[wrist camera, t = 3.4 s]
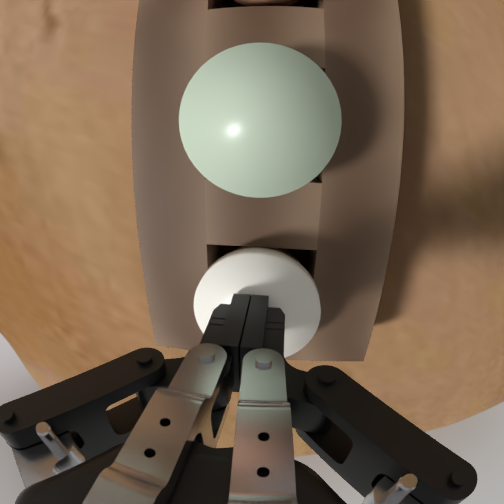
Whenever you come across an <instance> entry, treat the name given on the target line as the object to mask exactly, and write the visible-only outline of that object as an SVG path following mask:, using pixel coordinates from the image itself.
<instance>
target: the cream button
mask: <svg viewBox="0 0 504 504" xmlns="http://www.w3.org/2000/svg"><path fill="white" fill-rule="evenodd" d="M234 293H236V294H250V295H251V296H252V295H266V296H269V306H268V307H274V308H281V310H282V311H283V313H284V314H285V335H284V358H286V357H288V356H290V355H292V354H294V353H296V352H298V351H299V350H301V349H302V348H303V347H304V346H305V345H306V344H307V343H308V342H309V341H310V340H311V339H312V337H313V336H314V334H315V332H316V331H317V328H318V326H319V322H320V316H321V307H320V299H319V293H318V289H317V286H316V284H315V282H314V280H313V278H312V276H311V275H310V273H309V272H308V271H307V270H306V269H305V268H304V267H303V266H302V265H301V264H300V262H299V261H298V259H297V258H296V257H295V255H294V254H293V253H292V252H290V251H289V250H288V249H286V248H268V247H250V246H240V247H238V248H237V249H236V250H234V251H233V252H230V253H228V254H226V255H224V256H222V257H221V258H219V259H218V260H217V261H215V262H214V263H213V264H212V265H211V266H210V267H209V268H208V270H207V271H206V273H205V274H204V276H203V277H202V279H201V281H200V283H199V285H198V287H197V289H196V292H195V296H194V313H195V318H196V321H197V323H198V325H199V327H200V329H201V331H202V332H203V334H204V332H205V329H206V327H207V325H208V322H209V319H210V317H211V315H212V312H213V310H214V309H215V308H216V307H217V306H219V305H220V304H230V303H231V300H232V297H233V294H234Z"/></svg>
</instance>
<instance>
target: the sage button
mask: <svg viewBox="0 0 504 504" xmlns="http://www.w3.org/2000/svg"><path fill="white" fill-rule="evenodd" d="M341 124H342V118H341V108H340V103H339V99H338V96H337V93H336V91H335V89H334V87H333V85H332V83H331V81H330V80H329V78H328V77H327V75H326V74H325V73H324V71H323V70H322V69H321V68H320V67H319V66H318V65H317V64H316V63H315V62H313V61H312V60H311V59H310V58H308V57H307V56H305V55H303V54H302V53H300V52H298V51H296V50H294V49H292V48H289V47H286V46H282V45H278V44H273V43H260V42H259V43H247V44H242V45H238V46H235V47H232V48H229V49H226V50H224V51H222V52H220V53H218V54H217V55H215V56H214V57H212V58H211V59H209V60H208V61H207V62H206V63H205V64H204V65H202V66H201V67H200V69H199V70H198V71H197V72H196V73H195V74H194V76H193V77H192V79H191V80H190V82H189V83H188V85H187V87H186V89H185V92H184V94H183V97H182V100H181V105H180V110H179V131H180V136H181V140H182V143H183V146H184V149H185V151H186V153H187V155H188V157H189V159H190V160H191V162H192V163H193V165H194V166H195V167H196V168H197V170H198V171H199V172H200V173H201V174H202V175H203V176H204V177H205V178H207V179H208V180H209V181H210V182H212V183H213V184H215V185H216V186H218V187H220V188H222V189H224V190H226V191H228V192H231V193H234V194H237V195H241V196H245V197H254V198H268V197H275V196H280V195H283V194H287V193H290V192H292V191H295V190H297V189H299V188H301V187H302V186H304V185H306V184H307V183H309V182H310V181H311V180H313V179H314V178H315V177H316V176H317V175H318V174H319V173H320V172H321V171H322V170H323V169H324V168H325V166H326V165H327V164H328V163H329V161H330V159H331V158H332V156H333V154H334V152H335V150H336V147H337V145H338V142H339V137H340V133H341Z"/></svg>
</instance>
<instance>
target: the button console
mask: <svg viewBox="0 0 504 504" xmlns="http://www.w3.org/2000/svg"><path fill="white" fill-rule="evenodd" d="M259 42H260V43H273V44H278V45H282V46H286V47H289V48H292V49H294V50H296V51H298V52H300V53H302V54H303V55H305V56H307V57H308V58H310V59H311V60H312V61H313V62H315V63H316V64H317V65H318V66H319V67H320V68H321V69H322V70H323V71H324V73H325V74H326V75H327V77H328V78H329V80H330V81H331V83H332V85H333V87H334V89H335V91H336V93H337V96H338V99H339V103H340V108H341V118H342V124H341V133H340V137H339V142H338V145H337V147H336V150H335V152H334V154H333V156H332V158H331V159H330V161H329V163H328V164H327V165H326V166H325V168H324V169H323V170H322V171H321V172H320V173H319V174H318V175H317V176H316V177H315V178H314V179H313V180H311V181H310V182H309V183H307V184H306V185H304V186H302V187H301V188H299V189H297V190H295V191H292V192H290V193H287V194H283V195H280V196H275V197H268V198H254V197H245V196H241V195H237V194H234V193H231V192H228V191H226V190H224V189H222V188H220V187H218V186H216V185H215V184H213V183H212V182H210V181H209V180H208V179H207V178H205V177H204V176H203V175H202V174H201V173H200V172H199V171H198V170H197V168H196V167H195V166H194V165H193V163H192V162H191V160H190V159H189V157H188V155H187V153H186V151H185V149H184V146H183V143H182V140H181V136H180V131H179V110H180V105H181V100H182V97H183V94H184V92H185V89H186V87H187V85H188V83H189V82H190V80H191V79H192V77H193V76H194V74H195V73H196V72H197V71H198V70H199V69H200V67H201V66H202V65H204V64H205V63H206V62H207V61H208V60H209V59H211V58H212V57H214V56H215V55H217V54H218V53H220V52H222V51H224V50H226V49H229V48H232V47H235V46H238V45H242V44H247V43H259ZM403 133H404V63H403V46H402V34H401V23H400V14H399V7H398V0H317V8H309V7H291V6H249V7H231V8H223V0H139V5H138V14H137V22H136V32H135V44H134V58H133V77H132V158H133V178H134V193H135V205H136V216H137V227H138V236H139V244H140V252H141V260H142V267H143V274H144V281H145V287H146V293H147V299H148V305H149V311H150V316H151V321H152V327H153V332H154V336H155V341H156V345H159V346H166V347H172V348H179V349H185V350H190V349H191V348H192V347H194V346H196V345H199V344H200V342H201V339H202V337H203V332H202V331H201V329H200V327H199V325H198V323H197V321H196V318H195V313H194V296H195V292H196V289H197V287H198V285H199V283H200V281H201V279H202V277H203V276H204V274H205V273H206V271H207V270H208V268H209V267H210V266H211V265H212V264H213V263H214V262H215V261H217V260H218V259H219V258H221V245H231V246H250V247H268V248H287V249H305V250H310V259H309V270H308V272H309V273H310V275H311V276H312V278H313V280H314V282H315V284H316V286H317V289H318V293H319V299H320V307H321V316H320V322H319V326H318V328H317V331H316V332H315V334H314V336H313V337H312V339H311V340H310V341H309V342H308V343H307V344H306V345H305V346H304V347H303V348H302V349H301V350H299V351H298V352H296V353H294V354H292V355H290V356H288V357H286V358H285V359H288V360H310V361H364V357H365V354H366V351H367V347H368V344H369V341H370V337H371V333H372V330H373V326H374V322H375V318H376V314H377V310H378V306H379V302H380V298H381V294H382V289H383V285H384V280H385V275H386V271H387V265H388V260H389V255H390V249H391V244H392V238H393V232H394V225H395V218H396V211H397V203H398V195H399V186H400V176H401V165H402V151H403Z"/></svg>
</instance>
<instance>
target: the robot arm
mask: <svg viewBox="0 0 504 504" xmlns="http://www.w3.org/2000/svg"><path fill="white" fill-rule="evenodd" d="M268 306H269V296H266V295H252V296H251V295H250V294H236V293H234V294H233V297H232V300H231V303H230V304H220V305H219V306H217V307H216V308H215V309H214V310H213V312H212V315H211V317H210V319H209V322H208V325H207V327H206V329H205V332H204V334H203V337H202V339H201V342H200V344H199V345H196V346H194V347H192V348H191V349H190V350H189V351H188V353H187V355H186V356H185V357H182V358H175V359H164V356H163V354H162V353H161V352H160V351H158V350H156V349H153V348H141V349H137V350H135V351H133V352H130V353H128V354H126V355H124V356H121V357H119V358H117V359H114V360H112V361H110V362H107V363H105V364H103V365H100V366H98V367H96V368H93V369H91V370H89V371H86V372H84V373H81V374H79V375H77V376H74V377H72V378H69V379H67V380H64V381H62V382H59V383H57V384H54V385H52V386H49V387H47V388H44V389H42V390H39V391H37V392H34V393H32V394H29V395H26V396H24V397H21V398H19V399H16V400H13V401H11V402H8V403H6V404H3V405H2V406H0V434H1V436H2V437H3V438H4V439H5V440H6V442H7V444H8V445H9V446H10V447H11V448H12V450H13V454H14V457H15V460H16V463H17V466H18V469H19V472H20V475H21V478H22V481H23V483H24V486H25V489H24V490H23V491H22V492H21V493H20V495H19V496H18V498H17V500H16V502H15V504H346V503H345V502H344V501H343V500H342V499H341V498H340V497H339V496H338V495H337V494H336V493H335V492H334V491H333V489H332V488H330V486H328V484H327V483H326V482H325V481H324V480H323V479H322V478H321V477H320V476H319V475H318V474H317V473H316V472H315V471H313V470H312V469H311V468H309V467H308V466H306V465H305V464H303V463H301V462H299V461H296V460H294V449H293V434H292V427H293V428H295V429H296V432H297V434H298V435H299V436H300V437H301V438H302V439H303V440H304V441H305V442H306V443H307V444H308V445H309V446H310V447H311V448H312V449H313V450H314V451H315V452H316V453H317V454H318V455H319V456H320V457H321V458H322V459H323V460H324V461H325V462H326V463H327V464H328V465H329V466H330V467H331V468H332V469H334V470H335V471H336V472H337V473H338V474H339V475H340V476H341V477H342V478H343V479H344V480H345V481H347V482H348V483H349V484H350V485H351V486H352V487H353V488H354V489H356V490H357V491H358V492H359V493H360V494H361V495H362V496H363V497H365V498H364V500H363V503H362V504H459V503H460V502H461V501H462V500H464V499H465V498H466V497H468V496H469V495H470V494H471V493H472V492H473V491H474V489H475V487H476V484H477V473H476V471H475V469H474V468H473V466H472V465H471V464H470V463H468V462H467V461H465V460H464V459H462V458H461V457H459V456H458V455H456V454H455V453H453V452H452V451H451V450H449V449H448V448H446V447H445V446H443V445H442V444H440V443H439V442H437V441H436V440H435V439H433V438H432V437H430V436H429V435H428V434H426V433H425V432H423V431H422V430H421V429H419V428H418V427H416V426H415V425H414V424H412V423H411V422H409V421H408V420H407V419H405V418H404V417H403V416H401V415H400V414H398V413H397V412H396V411H394V410H393V409H392V408H390V407H389V406H388V405H386V404H385V403H384V402H382V401H381V400H380V399H378V398H377V397H375V396H374V395H373V394H372V393H370V392H369V391H368V390H366V389H365V388H364V387H362V386H361V385H360V384H358V383H357V382H356V381H354V380H353V379H352V378H350V377H349V376H348V375H347V374H345V373H344V372H343V371H341V370H340V369H338V368H336V367H333V366H328V365H321V366H316V367H314V368H312V369H310V370H309V371H308V372H305V371H302V370H298V369H296V368H294V367H292V366H291V365H289V364H288V363H287V361H286V360H285V358H284V335H285V314H284V313H283V311H282V310H281V308H274V307H268ZM240 384H241V387H240ZM239 389H240V399H239V401H238V405H237V416H236V426H235V437H234V447H231V448H216V447H217V443H218V440H219V437H220V434H221V431H222V428H223V425H224V422H225V419H226V416H227V413H228V410H229V401H230V399H231V394H232V391H233V392H239ZM134 393H136V395H137V397H135V398H133V399H131V400H129V401H127V402H125V403H123V404H121V405H119V406H117V407H115V408H112V409H110V410H108V411H106V409H107V407H108V406H110V405H111V404H113V403H116V402H118V401H120V400H122V399H124V398H126V397H128V396H130V395H132V394H134Z"/></svg>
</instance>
